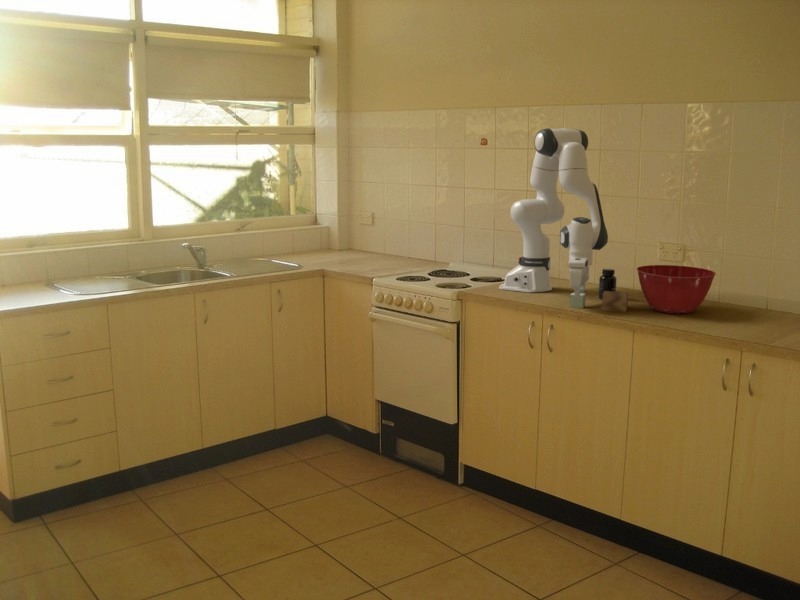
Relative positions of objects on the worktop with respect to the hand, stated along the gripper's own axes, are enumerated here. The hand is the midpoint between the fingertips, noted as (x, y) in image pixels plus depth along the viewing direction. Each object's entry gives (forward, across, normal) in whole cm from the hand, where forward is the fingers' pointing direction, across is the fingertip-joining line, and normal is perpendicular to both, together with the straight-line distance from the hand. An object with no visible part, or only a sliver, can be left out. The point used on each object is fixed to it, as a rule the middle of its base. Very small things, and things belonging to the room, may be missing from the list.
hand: (579, 295), depth 318 cm
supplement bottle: (+4, -21, +7) cm, 23 cm away
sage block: (+4, 0, -1) cm, 4 cm away
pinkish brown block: (+5, -2, +13) cm, 14 cm away
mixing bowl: (+5, -7, +34) cm, 35 cm away
